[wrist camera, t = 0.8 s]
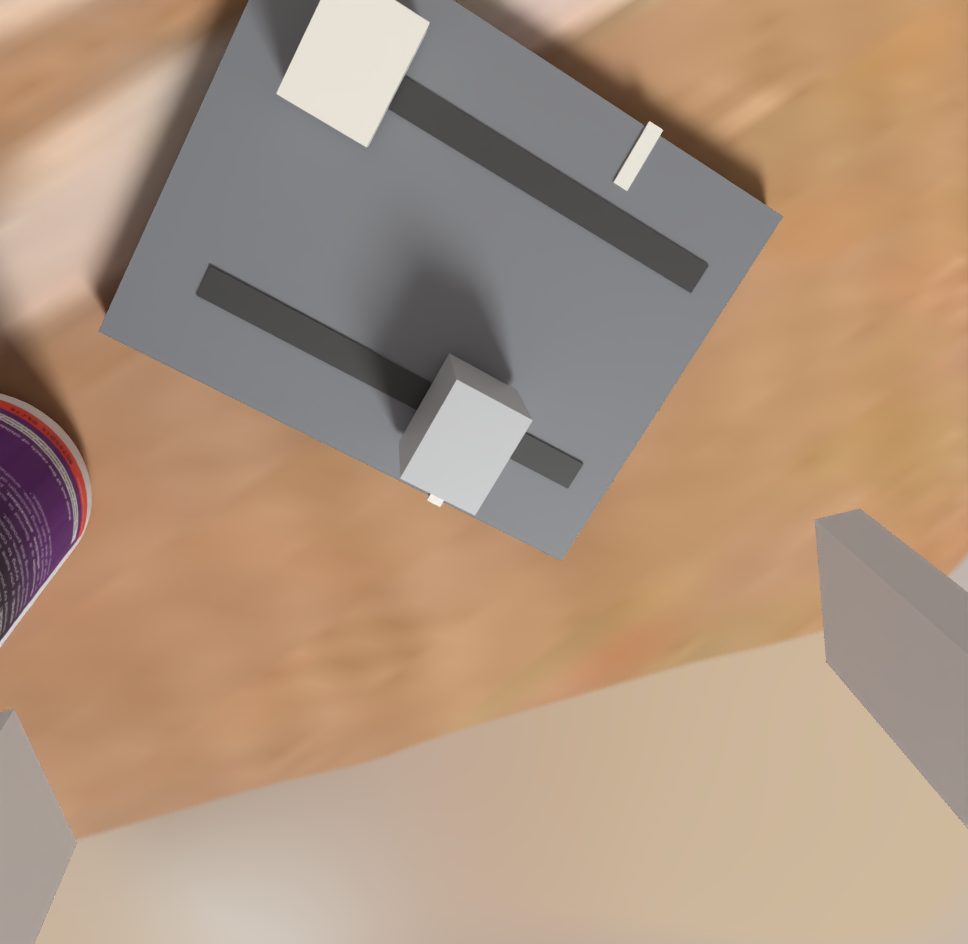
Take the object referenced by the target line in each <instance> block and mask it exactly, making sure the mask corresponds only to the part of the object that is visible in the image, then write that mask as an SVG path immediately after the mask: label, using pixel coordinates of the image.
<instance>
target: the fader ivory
mask: <svg viewBox="0 0 968 944" xmlns="http://www.w3.org/2000/svg"><path fill="white" fill-rule="evenodd" d="M429 23H430V22H428V21H427V20H425V19H424V18H422V17H421V16H419V15H417V14H416V13H414V12H413V11H411V10H410V9H408V8H407V7H405V6H403V5H402V4H400V3H399V2H397V1H396V0H320V2H319V4H318V6H317V8H316V11H315V13H314V15H313V17H312V19H311V21H310V23H309V25H308V27H307V30H306V32H305V34H304V36H303V38H302V40H301V42H300V44H299V46H298V49H297V51H296V53H295V55H294V57H293V59H292V61H291V63H290V65H289V68H288V70H287V72H286V74H285V76H284V78H283V80H282V82H281V84H280V87H279V89H278V91H277V93H276V94H277V95H279V96H281V97H282V98H284V99H286V100H287V101H289V102H291V103H292V104H294V105H296V106H297V107H299V108H301V109H302V110H304V111H306V112H308V113H309V114H311V115H313V116H314V117H316V118H318V119H319V120H321V121H323V122H324V123H326V124H328V125H329V126H331V127H333V128H335V129H336V130H338V131H340V132H341V133H343V134H345V135H346V136H348V137H350V138H351V139H353V140H355V141H356V142H358V143H360V144H361V145H363V146H365V147H368V146H369V145H370V143H371V141H372V139H373V137H374V135H375V133H376V131H377V129H378V127H379V125H380V123H381V121H382V119H383V117H384V115H385V113H386V111H387V109H388V107H389V105H390V103H391V101H392V99H393V97H394V95H395V93H396V91H397V89H398V88H399V86H400V84H401V82H402V80H403V78H404V76H405V74H406V72H407V70H408V68H409V66H410V64H411V62H412V60H413V58H414V56H415V54H416V52H417V50H418V48H419V46H420V44H421V42H422V40H423V38H424V36H425V34H426V31H427V29H428V26H429Z"/></svg>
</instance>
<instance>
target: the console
mask: <svg viewBox="0 0 968 944" xmlns="http://www.w3.org/2000/svg"><path fill="white" fill-rule="evenodd" d="M396 1H397V2H399V3H400V4H402V5H403V6H405V7H407V8H408V9H410V10H411V11H413V12H414V13H416V14H417V15H419V16H421V17H422V18H424V19H425V20H427V21H428V22H430V23H429V26H428V29H427V31H426V34H425V36H424V38H423V40H422V42H421V44H420V46H419V48H418V50H417V52H416V54H415V56H414V58H413V60H412V62H411V64H410V66H409V68H408V70H407V72H406V74H405V76H404V78H403V80H402V82H401V84H400V86H399V88H398V89H397V91H396V93H395V95H394V97H393V99H392V101H391V103H390V105H389V107H388V109H387V111H386V113H385V115H384V117H383V119H382V121H381V123H380V125H379V127H378V129H377V131H376V133H375V135H374V137H373V139H372V141H371V143H370V145H369V146H368V147H365V146H363V145H361V144H360V143H358V142H356V141H355V140H353V139H351V138H350V137H348V136H346V135H345V134H343V133H341V132H340V131H338V130H336V129H335V128H333V127H331V126H329V125H328V124H326V123H324V122H323V121H321V120H319V119H318V118H316V117H314V116H313V115H311V114H309V113H308V112H306V111H304V110H302V109H301V108H299V107H297V106H296V105H294V104H292V103H291V102H289V101H287V100H286V99H284V98H282V97H281V96H279V95H277V94H276V93H277V91H278V89H279V87H280V84H281V82H282V80H283V78H284V76H285V74H286V72H287V70H288V68H289V65H290V63H291V61H292V59H293V57H294V55H295V53H296V51H297V49H298V46H299V44H300V42H301V40H302V38H303V36H304V34H305V32H306V30H307V27H308V25H309V23H310V21H311V19H312V17H313V15H314V13H315V11H316V8H317V6H318V4H319V2H320V0H249V1H248V3H247V5H246V7H245V9H244V12H243V14H242V16H241V18H240V20H239V23H238V25H237V27H236V29H235V31H234V34H233V36H232V38H231V40H230V42H229V45H228V47H227V49H226V51H225V53H224V56H223V58H222V60H221V62H220V65H219V67H218V69H217V71H216V73H215V76H214V78H213V80H212V82H211V84H210V87H209V89H208V91H207V93H206V95H205V98H204V100H203V102H202V104H201V106H200V109H199V111H198V113H197V115H196V117H195V120H194V122H193V124H192V126H191V128H190V131H189V133H188V135H187V137H186V139H185V142H184V144H183V146H182V148H181V151H180V153H179V155H178V157H177V159H176V162H175V164H174V166H173V168H172V170H171V173H170V175H169V177H168V179H167V181H166V184H165V186H164V188H163V190H162V192H161V195H160V197H159V199H158V201H157V203H156V206H155V208H154V210H153V212H152V214H151V217H150V219H149V221H148V223H147V226H146V228H145V230H144V232H143V234H142V237H141V239H140V241H139V243H138V245H137V248H136V250H135V252H134V254H133V256H132V259H131V261H130V263H129V265H128V267H127V270H126V272H125V274H124V276H123V278H122V281H121V283H120V285H119V287H118V289H117V292H116V294H115V296H114V298H113V300H112V303H111V305H110V307H109V309H108V312H107V314H106V316H105V318H104V320H103V323H102V325H101V327H100V329H99V332H101V333H103V334H105V335H107V336H109V337H111V338H113V339H115V340H117V341H119V342H121V343H123V344H125V345H127V346H129V347H131V348H133V349H135V350H137V351H139V352H141V353H143V354H145V355H147V356H149V357H151V358H153V359H155V360H157V361H159V362H161V363H163V364H165V365H167V366H169V367H171V368H173V369H175V370H177V371H179V372H181V373H183V374H185V375H187V376H189V377H191V378H193V379H195V380H197V381H199V382H202V383H204V384H206V385H208V386H210V387H212V388H214V389H216V390H218V391H220V392H222V393H224V394H226V395H228V396H230V397H232V398H234V399H236V400H238V401H240V402H242V403H244V404H246V405H248V406H250V407H252V408H254V409H256V410H258V411H260V412H262V413H264V414H266V415H268V416H270V417H272V418H274V419H276V420H278V421H280V422H282V423H284V424H286V425H288V426H290V427H292V428H294V429H296V430H298V431H300V432H302V433H304V434H306V435H308V436H310V437H312V438H314V439H316V440H318V441H320V442H323V443H325V444H327V445H329V446H331V447H333V448H335V449H337V450H339V451H341V452H343V453H345V454H347V455H349V456H351V457H353V458H355V459H357V460H359V461H361V462H363V463H365V464H367V465H369V466H371V467H373V468H375V469H377V470H379V471H381V472H383V473H385V474H387V475H389V476H391V477H393V478H395V479H397V480H399V481H401V482H403V483H405V484H407V485H409V486H411V487H413V488H415V489H417V490H419V491H421V492H423V493H425V494H427V495H429V497H428V498H427V501H429V502H431V503H433V504H435V505H437V506H439V507H440V506H441V504H442V503H446V504H448V505H450V506H452V507H454V508H456V509H458V510H460V511H462V512H464V513H466V514H468V515H470V516H472V517H474V518H476V519H478V520H480V521H482V522H484V523H486V524H488V525H490V526H492V527H494V528H496V529H498V530H500V531H502V532H504V533H506V534H508V535H510V536H512V537H514V538H516V539H518V540H520V541H522V542H524V543H526V544H528V545H530V546H532V547H534V548H536V549H538V550H540V551H542V552H544V553H546V554H548V555H550V556H552V557H554V558H556V559H558V560H560V561H562V559H563V558H564V556H565V555H566V553H567V552H568V550H569V548H570V547H571V545H572V544H573V542H574V541H575V539H576V538H577V536H578V534H579V533H580V531H581V530H582V528H583V527H584V525H585V524H586V522H587V520H588V519H589V517H590V516H591V514H592V513H593V511H594V510H595V508H596V506H597V505H598V503H599V502H600V500H601V499H602V497H603V496H604V494H605V493H606V491H607V489H608V488H609V486H610V485H611V483H612V482H613V480H614V479H615V477H616V475H617V474H618V472H619V471H620V469H621V468H622V466H623V465H624V463H625V461H626V460H627V458H628V457H629V455H630V454H631V452H632V451H633V449H634V447H635V446H636V444H637V443H638V441H639V440H640V438H641V437H642V435H643V434H644V432H645V430H646V429H647V427H648V426H649V424H650V423H651V421H652V420H653V418H654V416H655V415H656V413H657V412H658V410H659V409H660V407H661V406H662V404H663V402H664V401H665V399H666V398H667V396H668V395H669V393H670V392H671V390H672V388H673V387H674V385H675V384H676V382H677V381H678V379H679V378H680V376H681V375H682V373H683V371H684V370H685V368H686V367H687V365H688V364H689V362H690V361H691V359H692V357H693V356H694V354H695V353H696V351H697V350H698V348H699V347H700V345H701V343H702V342H703V340H704V339H705V337H706V336H707V334H708V333H709V331H710V330H711V328H712V326H713V325H714V323H715V322H716V320H717V319H718V317H719V316H720V314H721V312H722V311H723V309H724V308H725V306H726V305H727V303H728V302H729V300H730V298H731V297H732V295H733V294H734V292H735V291H736V289H737V288H738V286H739V284H740V283H741V281H742V280H743V278H744V277H745V275H746V274H747V272H748V271H749V269H750V267H751V266H752V264H753V263H754V261H755V260H756V258H757V257H758V255H759V253H760V252H761V250H762V249H763V247H764V246H765V244H766V243H767V241H768V239H769V238H770V236H771V235H772V233H773V232H774V230H775V229H776V227H777V225H778V224H779V222H780V221H781V219H782V218H783V216H782V215H780V214H779V213H777V212H776V211H774V210H773V209H771V208H770V207H768V206H767V205H765V204H764V203H762V202H761V201H759V200H757V199H756V198H754V197H753V196H751V195H750V194H748V193H747V192H745V191H744V190H742V189H741V188H739V187H738V186H736V185H735V184H733V183H732V182H730V181H729V180H727V179H725V178H724V177H722V176H721V175H719V174H718V173H716V172H715V171H713V170H712V169H710V168H709V167H707V166H706V165H704V164H703V163H701V162H700V161H698V160H696V159H695V158H693V157H692V156H690V155H689V154H687V153H686V152H684V151H683V150H681V149H680V148H678V147H677V146H675V145H674V144H672V143H671V142H669V141H668V140H666V139H664V138H663V137H661V136H660V135H661V133H662V132H663V130H662V129H661V128H659V127H658V126H656V125H655V124H653V123H652V122H650V121H649V122H648V123H647V125H646V126H645V125H643V124H642V123H640V122H639V121H637V120H636V119H634V118H632V117H631V116H629V115H628V114H626V113H625V112H623V111H622V110H620V109H619V108H617V107H616V106H614V105H613V104H611V103H610V102H608V101H607V100H605V99H603V98H602V97H600V96H599V95H597V94H596V93H594V92H593V91H591V90H590V89H588V88H587V87H585V86H584V85H582V84H581V83H579V82H578V81H576V80H575V79H573V78H571V77H570V76H568V75H567V74H565V73H564V72H562V71H561V70H559V69H558V68H556V67H555V66H553V65H552V64H550V63H549V62H547V61H546V60H544V59H542V58H541V57H539V56H538V55H536V54H535V53H533V52H532V51H530V50H529V49H527V48H526V47H524V46H523V45H521V44H520V43H518V42H517V41H515V40H514V39H512V38H510V37H509V36H507V35H506V34H504V33H503V32H501V31H500V30H498V29H497V28H495V27H494V26H492V25H491V24H489V23H488V22H486V21H485V20H483V19H482V18H480V17H478V16H477V15H475V14H474V13H472V12H471V11H469V10H468V9H466V8H465V7H463V6H462V5H460V4H459V3H457V2H456V1H454V0H396ZM449 353H450V354H452V355H453V356H455V357H457V358H459V359H461V360H463V361H464V362H466V363H468V364H470V365H472V366H474V367H476V368H477V369H479V370H481V371H483V372H485V373H487V374H488V375H490V376H492V377H494V378H496V379H498V380H499V381H501V382H503V383H505V384H507V385H509V386H510V387H512V388H514V389H516V390H517V391H518V393H519V394H520V396H521V398H522V400H523V402H524V404H525V406H526V408H527V410H528V412H529V414H530V416H531V418H532V420H533V421H532V422H531V424H530V426H529V427H528V429H527V431H526V432H525V434H524V436H523V437H522V439H521V441H520V442H519V444H518V446H517V447H516V449H515V450H514V452H513V454H512V455H511V457H510V459H509V460H508V462H507V464H506V465H505V467H504V469H503V470H502V472H501V474H500V475H499V477H498V479H497V480H496V482H495V484H494V485H493V487H492V488H491V490H490V492H489V493H488V495H487V497H486V498H485V500H484V502H483V503H482V505H481V507H480V508H479V510H478V512H477V513H476V515H473V514H471V513H469V512H467V511H465V510H463V509H461V508H459V507H457V506H455V505H453V504H451V503H448V502H446V501H444V500H442V499H440V498H438V497H436V496H434V495H432V494H430V493H428V492H426V491H424V490H422V489H420V488H418V487H416V486H414V485H412V484H410V483H408V482H406V481H404V480H402V479H400V465H399V441H400V439H401V437H402V436H403V434H404V432H405V430H406V429H407V427H408V425H409V423H410V421H411V420H412V418H413V416H414V414H415V413H416V411H417V409H418V407H419V406H420V404H421V402H422V400H423V399H424V397H425V395H426V393H427V391H428V390H429V388H430V386H431V384H432V383H433V381H434V379H435V377H436V376H437V374H438V372H439V370H440V369H441V367H442V365H443V363H444V361H445V360H446V358H447V356H448V354H449Z"/></svg>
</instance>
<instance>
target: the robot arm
mask: <svg viewBox="0 0 968 944" xmlns="http://www.w3.org/2000/svg"><path fill="white" fill-rule="evenodd" d="M815 528H816V540H817V552H818V565H819V577H820V590H821V602H822V615H823V627H824V639H825V651H826V662H827V663H828V664H829V666H830V667H831V668H832V669H833V670H834V671H835V672H836V674H837V675H838V676H839V677H840V679H841V680H842V681H843V682H844V683H845V684H846V686H847V687H848V688H849V689H850V690H851V692H852V693H853V694H854V695H855V696H856V697H857V699H858V700H859V701H860V702H861V703H862V704H863V706H864V707H865V708H866V709H867V710H868V712H869V713H870V714H871V715H872V716H873V718H874V719H875V720H876V721H877V722H878V723H879V725H880V726H881V727H882V728H883V729H884V730H885V732H886V733H887V734H888V735H889V736H890V738H891V739H892V740H893V741H894V742H895V743H896V745H897V746H898V747H899V748H900V749H901V750H902V751H903V753H904V754H905V755H906V756H907V758H908V759H909V760H910V761H911V762H912V763H913V765H914V766H915V767H916V768H917V769H918V770H919V772H920V773H921V774H922V775H923V776H924V778H925V779H926V780H927V781H928V782H929V783H930V785H931V786H932V787H933V788H934V789H935V791H936V792H937V793H938V794H939V795H940V796H941V798H942V799H943V800H944V801H945V802H946V803H947V805H948V806H949V807H950V808H951V809H952V811H953V812H954V813H955V814H956V815H957V816H958V818H959V819H960V820H961V821H962V822H963V823H964V825H965V826H966V827H967V828H968V592H967V591H965V590H964V589H963V588H961V587H960V586H959V585H958V584H956V583H955V582H954V581H952V580H951V579H950V578H949V577H947V576H946V575H945V574H943V573H942V572H941V571H940V570H938V569H937V568H936V567H934V566H933V565H932V564H931V563H929V562H928V561H927V560H925V559H924V558H923V557H922V556H920V555H919V554H918V553H916V552H915V551H914V550H913V549H911V548H910V547H909V546H907V545H906V544H905V543H904V542H902V541H901V540H900V539H898V538H897V537H896V536H895V535H893V534H892V533H891V532H889V531H888V530H887V529H886V528H884V527H883V526H882V525H880V524H879V523H878V522H877V521H875V520H874V519H873V518H871V517H870V516H869V515H868V514H866V513H865V512H864V511H862V510H861V509H857V510H853V511H849V512H845V513H840V514H836V515H832V516H828V517H823V518H819V519H815ZM76 844H77V842H76V840H75V837H74V835H73V833H72V831H71V829H70V827H69V825H68V823H67V820H66V818H65V816H64V814H63V812H62V810H61V808H60V805H59V803H58V801H57V799H56V797H55V795H54V793H53V791H52V788H51V786H50V784H49V782H48V780H47V778H46V776H45V773H44V771H43V769H42V767H41V765H40V763H39V761H38V759H37V756H36V754H35V752H34V750H33V748H32V746H31V744H30V741H29V739H28V737H27V735H26V733H25V731H24V729H23V727H22V724H21V722H20V720H19V718H18V716H17V714H16V712H15V709H12V710H8V711H3V712H0V944H34V943H35V941H36V939H37V936H38V934H39V932H40V929H41V927H42V925H43V922H44V920H45V917H46V915H47V913H48V910H49V908H50V906H51V903H52V901H53V899H54V896H55V894H56V891H57V889H58V887H59V884H60V882H61V879H62V877H63V875H64V873H65V870H66V868H67V865H68V863H69V861H70V858H71V856H72V853H73V851H74V849H75V847H76Z"/></svg>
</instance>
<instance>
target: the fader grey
mask: <svg viewBox="0 0 968 944" xmlns="http://www.w3.org/2000/svg"><path fill="white" fill-rule="evenodd" d="M532 421H533V420H532V418H531V416H530V414H529V412H528V410H527V408H526V406H525V404H524V402H523V400H522V398H521V396H520V394H519V393H518V391H517V390H516V389H514V388H512V387H510V386H509V385H507V384H505V383H503V382H501V381H499V380H498V379H496V378H494V377H492V376H490V375H488V374H487V373H485V372H483V371H481V370H479V369H477V368H476V367H474V366H472V365H470V364H468V363H466V362H464V361H463V360H461V359H459V358H457V357H455V356H453V355H452V354H450V353H449V354H448V356H447V358H446V360H445V361H444V363H443V365H442V367H441V369H440V370H439V372H438V374H437V376H436V377H435V379H434V381H433V383H432V384H431V386H430V388H429V390H428V391H427V393H426V395H425V397H424V399H423V400H422V402H421V404H420V406H419V407H418V409H417V411H416V413H415V414H414V416H413V418H412V420H411V421H410V423H409V425H408V427H407V429H406V430H405V432H404V434H403V436H402V437H401V439H400V441H399V465H400V479H402V480H404V481H406V482H408V483H410V484H412V485H414V486H416V487H418V488H420V489H422V490H424V491H426V492H428V493H430V494H432V495H434V496H436V497H438V498H440V499H442V500H444V501H446V502H448V503H451V504H453V505H455V506H457V507H459V508H461V509H463V510H465V511H467V512H469V513H471V514H473V515H476V513H477V512H478V510H479V508H480V507H481V505H482V503H483V502H484V500H485V498H486V497H487V495H488V493H489V492H490V490H491V488H492V487H493V485H494V484H495V482H496V480H497V479H498V477H499V475H500V474H501V472H502V470H503V469H504V467H505V465H506V464H507V462H508V460H509V459H510V457H511V455H512V454H513V452H514V450H515V449H516V447H517V446H518V444H519V442H520V441H521V439H522V437H523V436H524V434H525V432H526V431H527V429H528V427H529V426H530V424H531V422H532Z"/></svg>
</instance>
